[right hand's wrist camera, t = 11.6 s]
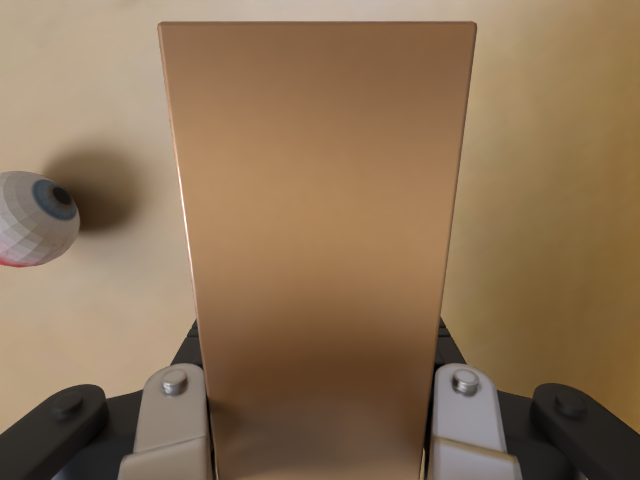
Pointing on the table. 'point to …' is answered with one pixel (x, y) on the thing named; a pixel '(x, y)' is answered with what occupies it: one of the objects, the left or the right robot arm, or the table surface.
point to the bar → (318, 232)
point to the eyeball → (34, 219)
